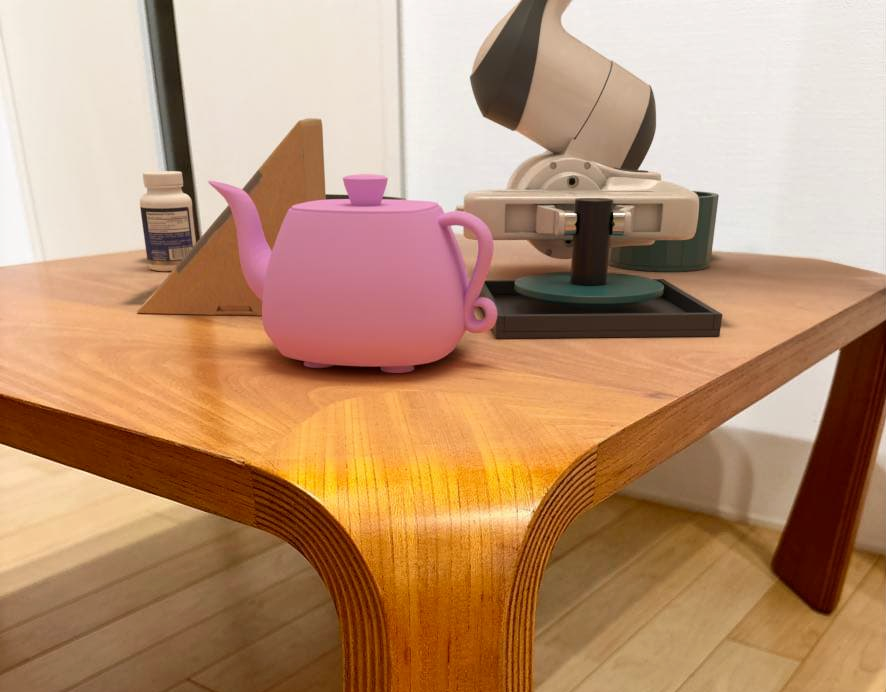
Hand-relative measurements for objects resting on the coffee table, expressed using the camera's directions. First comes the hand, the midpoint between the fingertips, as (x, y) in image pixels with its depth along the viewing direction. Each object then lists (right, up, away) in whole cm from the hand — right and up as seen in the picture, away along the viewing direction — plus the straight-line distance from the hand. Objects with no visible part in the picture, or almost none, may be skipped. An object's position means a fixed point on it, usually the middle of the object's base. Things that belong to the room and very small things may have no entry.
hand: (595, 224), depth 73 cm
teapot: (-18, -12, -9) cm, 24 cm away
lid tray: (0, -6, +4) cm, 7 cm away
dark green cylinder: (+12, +6, +31) cm, 34 cm away
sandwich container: (-30, -5, +8) cm, 32 cm away
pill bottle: (-42, +4, +27) cm, 50 cm away
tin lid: (0, -4, +3) cm, 5 cm away
